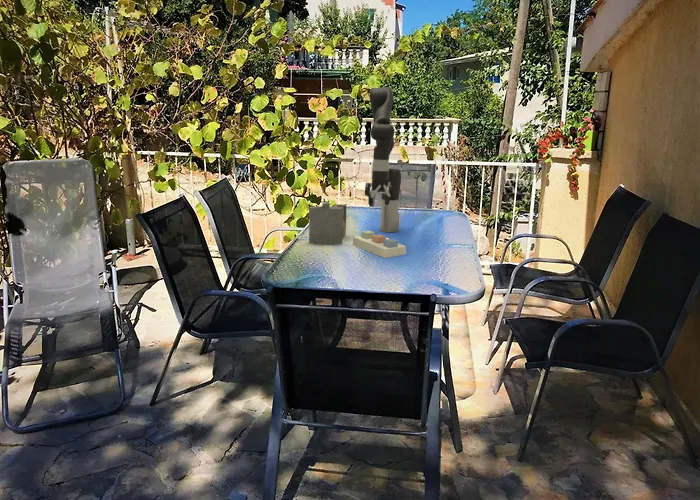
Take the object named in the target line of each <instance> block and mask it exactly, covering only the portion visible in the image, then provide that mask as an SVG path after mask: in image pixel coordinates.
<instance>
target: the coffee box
mask: <svg viewBox="0 0 700 500" xmlns="http://www.w3.org/2000/svg"><path fill="white" fill-rule="evenodd" d="M331 207H342V208H343V223H342V240H343V239H344V238H345V237H346V236H347V235H346V234H347V204H336V203H335V204H333V205H332V206H331Z"/></svg>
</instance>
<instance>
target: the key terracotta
mask: <svg viewBox="0 0 700 500" xmlns="http://www.w3.org/2000/svg"><path fill="white" fill-rule="evenodd" d="M385 239H387V236H385V235H383V234H375V235H372V241H373V242H375V243H384V240H385Z"/></svg>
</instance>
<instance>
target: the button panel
mask: <svg viewBox="0 0 700 500" xmlns="http://www.w3.org/2000/svg"><path fill="white" fill-rule="evenodd" d="M352 245H353V246H354V247H357V248H358V249H362V250H363V251H366V252H369V253H370V254H373V255H376V256H378V257H381V258H383V259H388V258H394V256H395V257H399V256H398V255H401V256H403V255H402V254H406V253H407V246H406V245H403V244H402V243H399V242H398V247H392V248H388V247H386V246H383V243H375V242H373V241H372V238H371V239H365V238H362V237H361V235H358V236H353V237H352Z"/></svg>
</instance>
